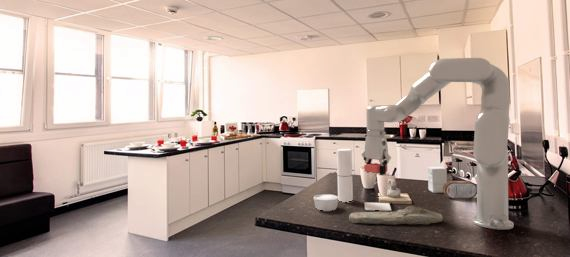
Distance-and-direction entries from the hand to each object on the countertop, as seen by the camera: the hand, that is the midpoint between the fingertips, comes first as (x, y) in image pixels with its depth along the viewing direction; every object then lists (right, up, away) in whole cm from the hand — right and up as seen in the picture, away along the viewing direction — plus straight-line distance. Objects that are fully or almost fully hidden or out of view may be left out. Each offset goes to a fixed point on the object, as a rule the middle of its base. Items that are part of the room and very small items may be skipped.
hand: (375, 173), depth 140 cm
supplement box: (+40, -13, +25) cm, 49 cm away
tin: (+44, -14, +10) cm, 47 cm away
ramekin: (-22, -16, +1) cm, 28 cm away
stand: (+12, -15, +12) cm, 22 cm away
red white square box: (0, +1, 0) cm, 1 cm away
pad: (+1, -15, 0) cm, 15 cm away
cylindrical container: (-11, -16, +13) cm, 23 cm away
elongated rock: (+2, -16, -19) cm, 25 cm away
